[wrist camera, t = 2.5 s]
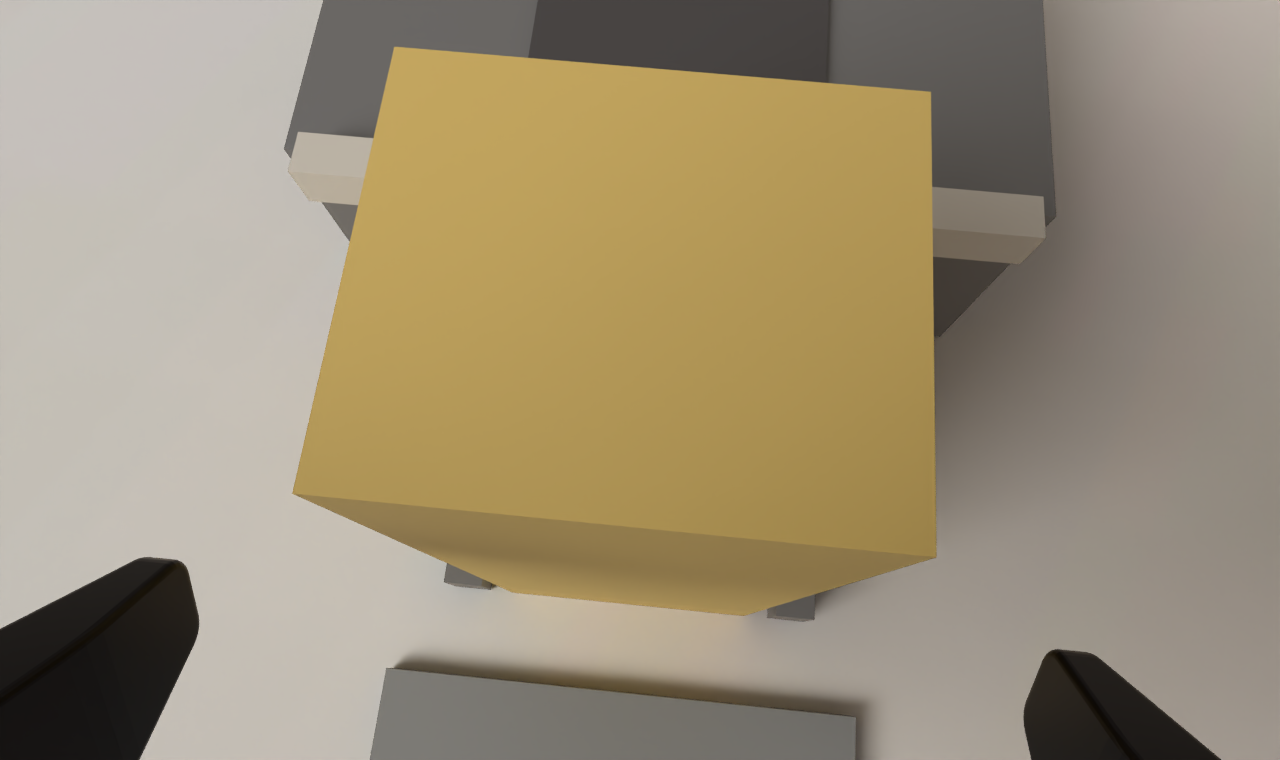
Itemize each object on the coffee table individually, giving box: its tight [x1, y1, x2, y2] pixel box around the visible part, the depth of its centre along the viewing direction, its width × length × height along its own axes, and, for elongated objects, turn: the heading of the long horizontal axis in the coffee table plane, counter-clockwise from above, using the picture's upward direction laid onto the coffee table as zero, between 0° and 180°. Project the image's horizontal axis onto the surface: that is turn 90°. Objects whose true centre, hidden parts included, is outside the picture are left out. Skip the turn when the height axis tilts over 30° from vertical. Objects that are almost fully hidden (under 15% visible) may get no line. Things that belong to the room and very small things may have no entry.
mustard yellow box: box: [292, 47, 936, 616], centre depth 13 cm, size 4×5×12 cm
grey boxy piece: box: [284, 0, 1056, 621], centre depth 18 cm, size 15×14×7 cm
